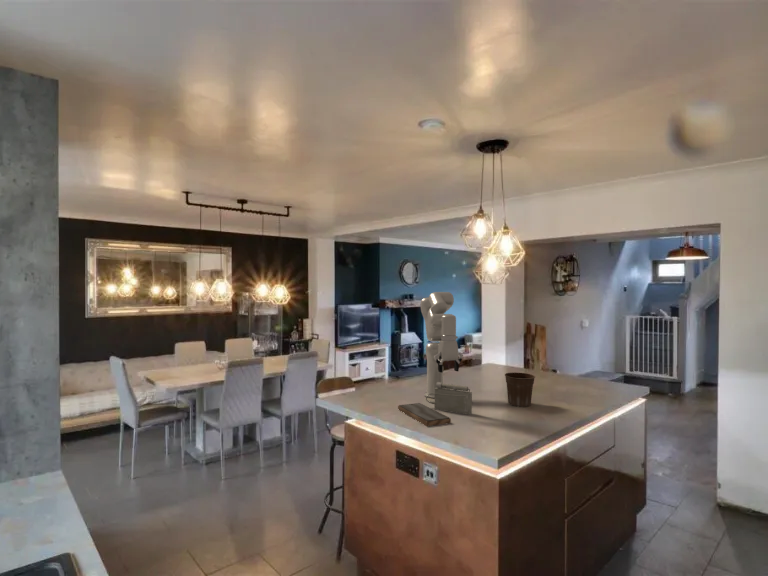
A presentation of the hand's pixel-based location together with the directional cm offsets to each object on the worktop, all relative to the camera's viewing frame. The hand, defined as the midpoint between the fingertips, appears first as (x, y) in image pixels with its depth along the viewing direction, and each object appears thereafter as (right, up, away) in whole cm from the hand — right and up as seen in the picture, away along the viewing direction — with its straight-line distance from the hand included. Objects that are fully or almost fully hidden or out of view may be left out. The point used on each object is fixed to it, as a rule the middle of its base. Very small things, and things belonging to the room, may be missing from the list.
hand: (448, 371), depth 228 cm
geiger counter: (0, -21, 0) cm, 21 cm away
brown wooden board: (-14, -20, -10) cm, 27 cm away
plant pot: (+42, -21, +15) cm, 49 cm away
